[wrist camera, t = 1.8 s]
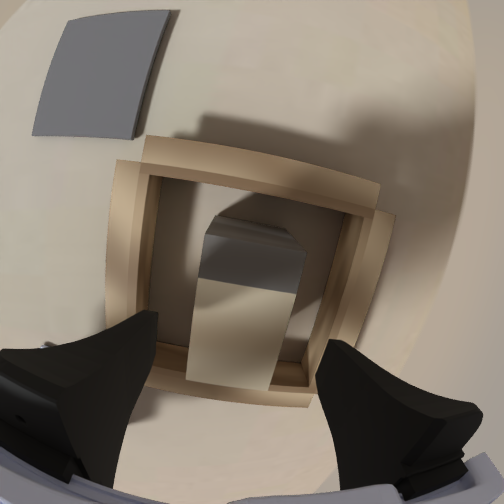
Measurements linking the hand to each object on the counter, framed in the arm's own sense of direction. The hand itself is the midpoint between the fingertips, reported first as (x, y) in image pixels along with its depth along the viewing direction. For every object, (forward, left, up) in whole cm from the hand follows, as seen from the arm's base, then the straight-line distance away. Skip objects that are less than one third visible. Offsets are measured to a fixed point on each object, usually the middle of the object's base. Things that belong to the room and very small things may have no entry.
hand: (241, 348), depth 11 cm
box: (0, 0, -8) cm, 8 cm away
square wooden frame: (0, 0, -8) cm, 8 cm away
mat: (+13, +13, -8) cm, 20 cm away
